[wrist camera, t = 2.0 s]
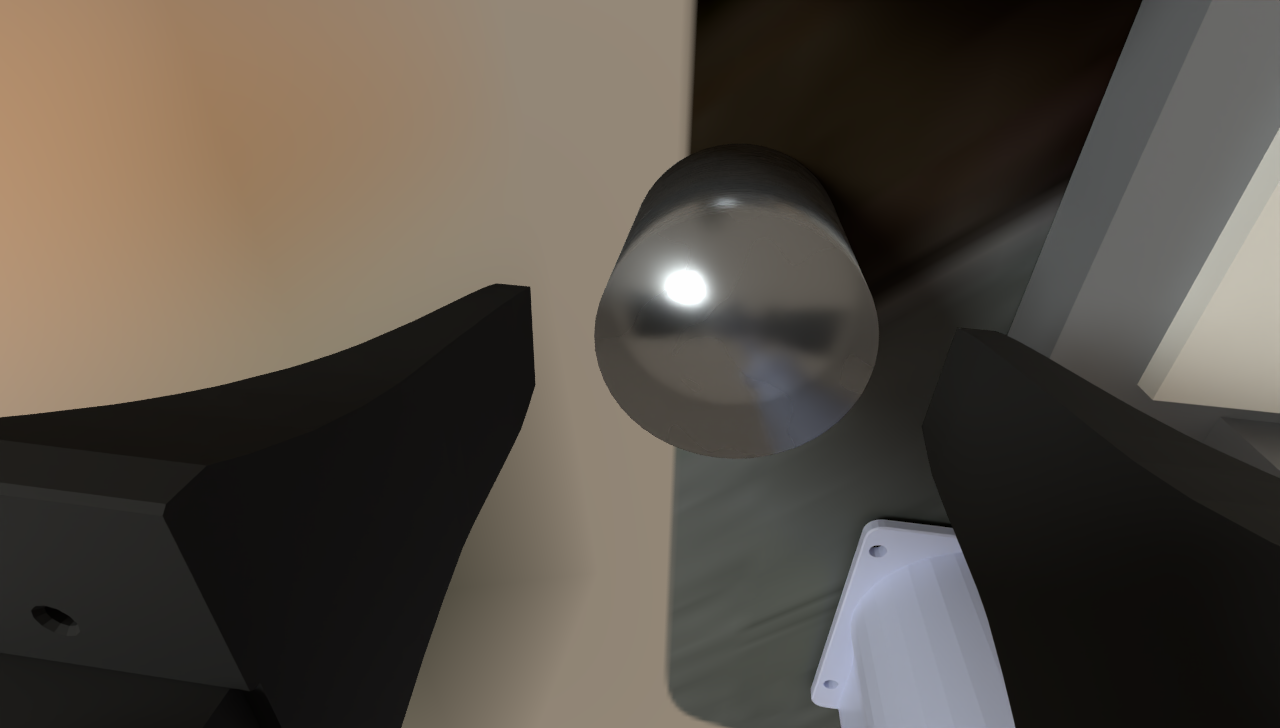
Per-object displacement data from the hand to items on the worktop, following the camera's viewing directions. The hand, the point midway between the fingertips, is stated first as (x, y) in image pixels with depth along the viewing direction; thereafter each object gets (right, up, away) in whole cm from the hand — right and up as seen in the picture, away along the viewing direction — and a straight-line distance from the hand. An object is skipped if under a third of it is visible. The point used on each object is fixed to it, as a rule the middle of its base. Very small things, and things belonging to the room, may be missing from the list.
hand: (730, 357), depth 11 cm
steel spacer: (+1, +3, +5) cm, 5 cm away
